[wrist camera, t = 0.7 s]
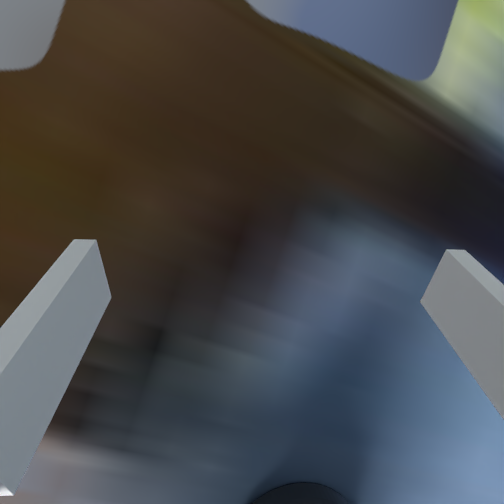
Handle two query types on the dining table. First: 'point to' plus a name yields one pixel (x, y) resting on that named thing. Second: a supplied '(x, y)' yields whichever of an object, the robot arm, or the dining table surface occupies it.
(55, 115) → the dining table surface
